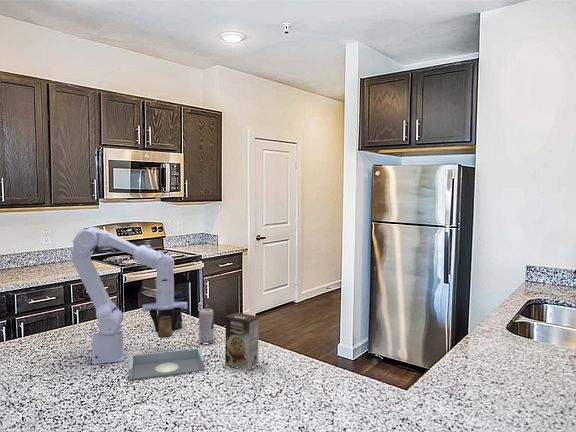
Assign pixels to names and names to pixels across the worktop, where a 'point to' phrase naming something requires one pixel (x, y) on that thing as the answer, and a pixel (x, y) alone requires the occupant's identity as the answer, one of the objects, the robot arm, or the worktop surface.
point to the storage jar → (170, 311)
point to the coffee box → (241, 340)
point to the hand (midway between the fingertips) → (165, 330)
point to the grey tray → (165, 364)
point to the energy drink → (206, 326)
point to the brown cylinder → (165, 326)
